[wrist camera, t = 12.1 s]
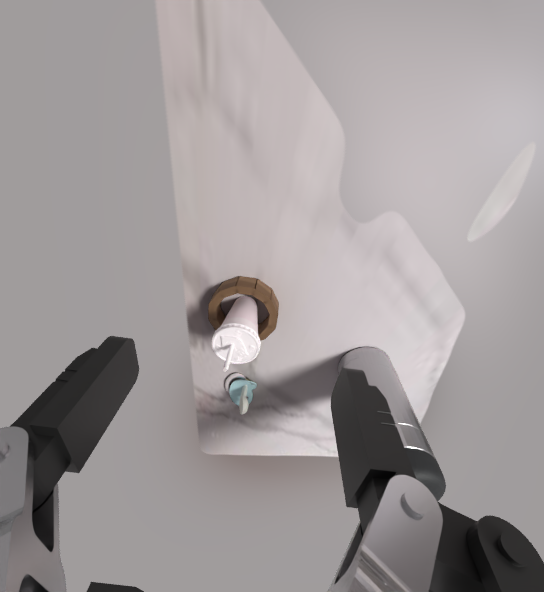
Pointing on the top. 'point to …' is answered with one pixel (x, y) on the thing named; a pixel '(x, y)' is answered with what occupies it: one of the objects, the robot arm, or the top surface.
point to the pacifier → (240, 391)
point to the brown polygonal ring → (249, 288)
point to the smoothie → (238, 334)
